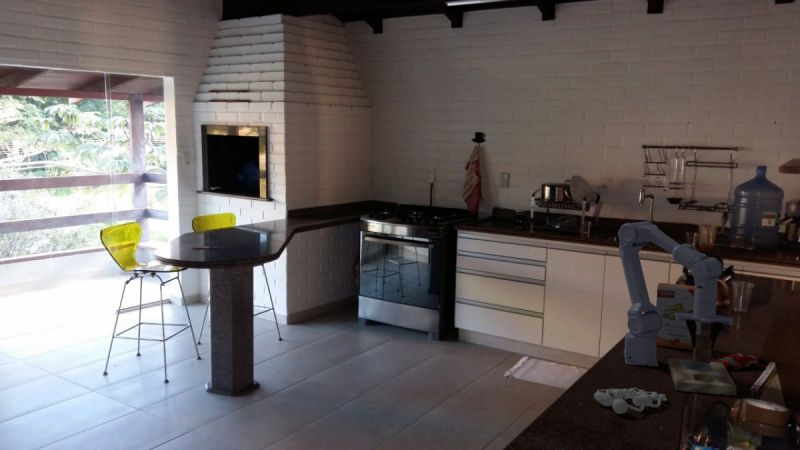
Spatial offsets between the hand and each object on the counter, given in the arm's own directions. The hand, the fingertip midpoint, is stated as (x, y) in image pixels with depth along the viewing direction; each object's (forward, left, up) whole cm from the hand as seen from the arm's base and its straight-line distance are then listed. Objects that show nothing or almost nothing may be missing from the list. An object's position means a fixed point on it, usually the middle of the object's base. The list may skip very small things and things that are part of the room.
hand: (702, 347), depth 181 cm
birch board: (0, +1, -10) cm, 10 cm away
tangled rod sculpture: (-21, -21, -11) cm, 32 cm away
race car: (+13, +16, -11) cm, 23 cm away
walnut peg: (0, 0, -4) cm, 4 cm away
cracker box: (-2, +32, -11) cm, 34 cm away
